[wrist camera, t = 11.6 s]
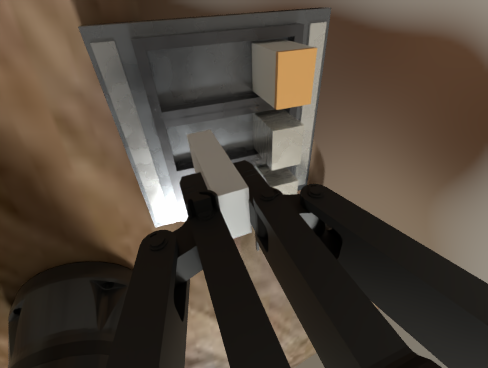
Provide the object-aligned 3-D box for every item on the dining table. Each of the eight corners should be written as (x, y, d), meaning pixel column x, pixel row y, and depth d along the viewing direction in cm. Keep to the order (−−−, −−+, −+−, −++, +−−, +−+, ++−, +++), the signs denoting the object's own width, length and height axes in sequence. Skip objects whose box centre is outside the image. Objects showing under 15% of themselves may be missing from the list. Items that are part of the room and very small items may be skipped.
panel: (154, 218, 30) (157, 261, 25) (82, 25, 18) (59, 33, 13) (301, 182, 35) (327, 212, 30) (321, 7, 22) (372, 8, 18)
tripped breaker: (252, 90, 23) (276, 110, 19) (251, 42, 21) (278, 52, 17) (281, 86, 24) (310, 104, 20) (283, 39, 21) (317, 47, 17)
